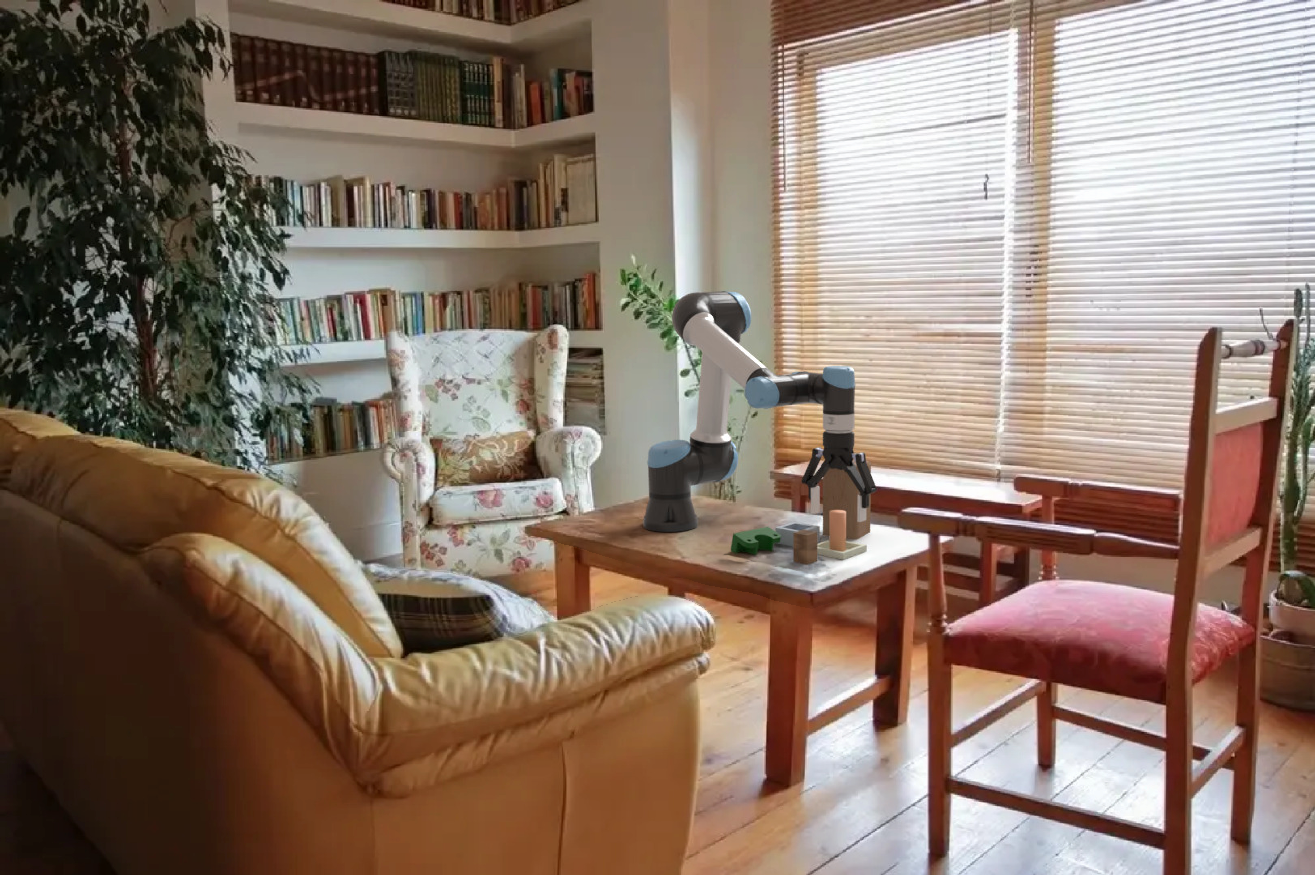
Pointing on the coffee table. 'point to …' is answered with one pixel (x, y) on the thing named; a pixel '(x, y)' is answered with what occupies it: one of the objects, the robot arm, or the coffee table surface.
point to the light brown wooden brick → (805, 547)
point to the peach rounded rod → (837, 530)
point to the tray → (850, 551)
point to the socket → (789, 529)
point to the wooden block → (844, 502)
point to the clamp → (754, 540)
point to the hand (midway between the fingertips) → (838, 517)
